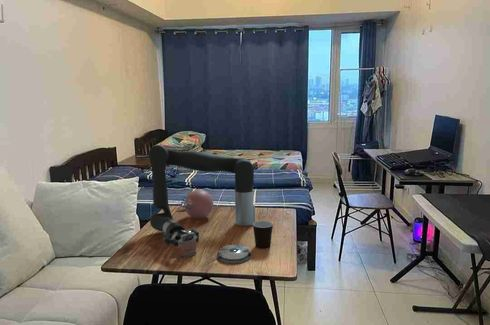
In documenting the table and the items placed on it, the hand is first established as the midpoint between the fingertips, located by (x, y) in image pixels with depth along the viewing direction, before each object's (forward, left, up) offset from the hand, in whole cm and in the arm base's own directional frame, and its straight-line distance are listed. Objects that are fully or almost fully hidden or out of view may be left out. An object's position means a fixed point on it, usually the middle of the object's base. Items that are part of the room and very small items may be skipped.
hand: (187, 242), depth 153 cm
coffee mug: (-33, +7, -6) cm, 34 cm away
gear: (-27, -62, -6) cm, 68 cm away
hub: (-16, +10, -6) cm, 20 cm away
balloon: (-22, -42, -6) cm, 48 cm away
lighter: (0, -1, -6) cm, 6 cm away
